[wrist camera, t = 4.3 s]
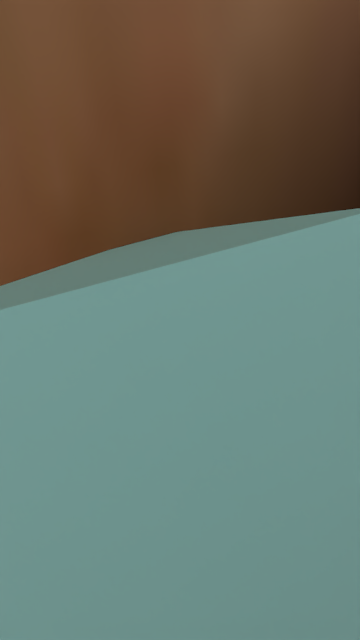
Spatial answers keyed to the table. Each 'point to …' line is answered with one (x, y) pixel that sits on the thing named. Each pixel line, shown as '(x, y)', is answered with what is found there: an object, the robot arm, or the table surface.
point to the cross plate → (185, 438)
